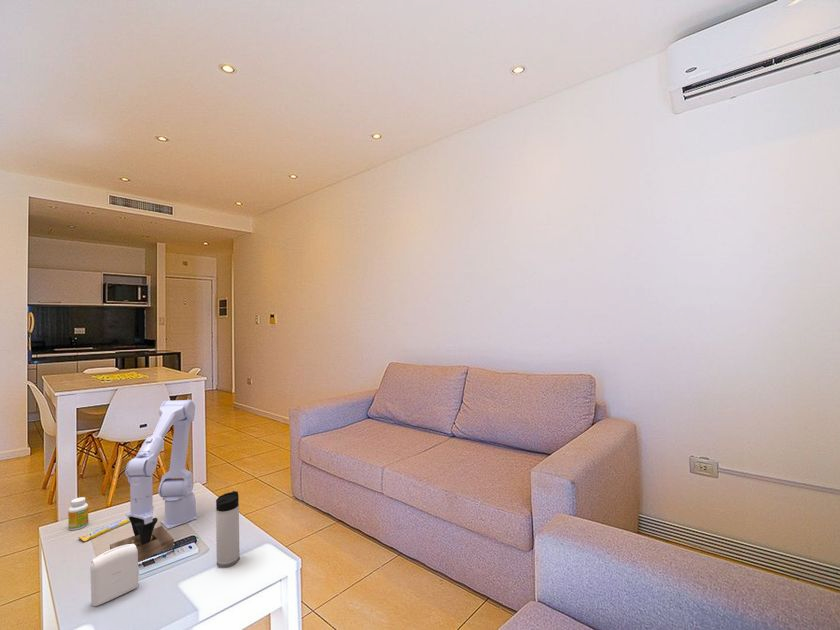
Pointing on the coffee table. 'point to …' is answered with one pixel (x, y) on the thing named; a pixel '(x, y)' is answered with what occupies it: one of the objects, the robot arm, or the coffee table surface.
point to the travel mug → (227, 529)
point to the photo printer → (114, 573)
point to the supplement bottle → (78, 514)
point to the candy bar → (105, 529)
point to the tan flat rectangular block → (138, 541)
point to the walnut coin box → (150, 543)
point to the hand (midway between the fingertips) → (142, 538)
